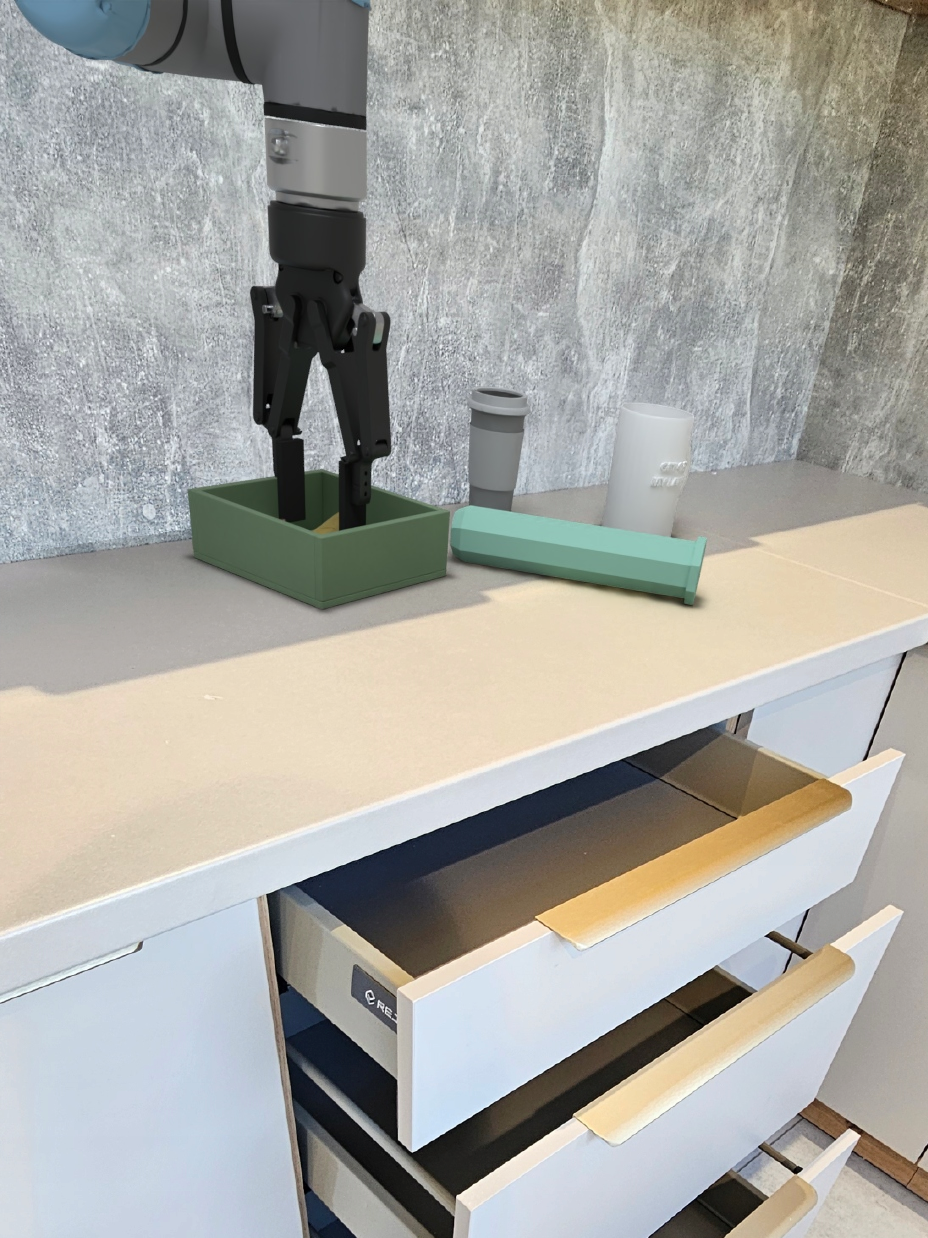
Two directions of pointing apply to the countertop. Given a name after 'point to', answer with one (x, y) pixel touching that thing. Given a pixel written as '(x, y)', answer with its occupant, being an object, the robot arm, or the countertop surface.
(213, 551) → the bin
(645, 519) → the mug
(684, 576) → the container
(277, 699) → the countertop surface
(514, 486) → the cup
